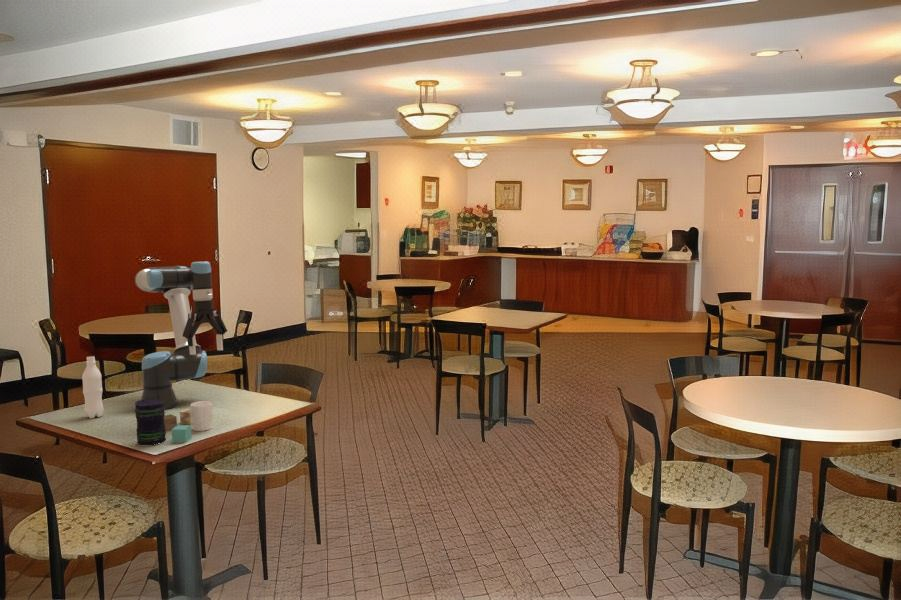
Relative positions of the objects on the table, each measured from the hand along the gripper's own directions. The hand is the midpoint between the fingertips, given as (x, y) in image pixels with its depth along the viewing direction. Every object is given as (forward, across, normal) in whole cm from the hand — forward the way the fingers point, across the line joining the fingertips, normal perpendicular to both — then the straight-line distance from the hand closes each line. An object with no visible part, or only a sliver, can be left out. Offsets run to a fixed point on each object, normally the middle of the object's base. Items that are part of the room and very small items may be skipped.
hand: (206, 352), depth 284 cm
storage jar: (+29, -30, -4) cm, 42 cm away
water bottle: (+25, -22, +45) cm, 56 cm away
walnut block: (+28, -17, +4) cm, 33 cm away
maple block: (+27, -7, +4) cm, 29 cm away
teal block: (+29, -24, -12) cm, 40 cm away
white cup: (+29, -10, -7) cm, 31 cm away
